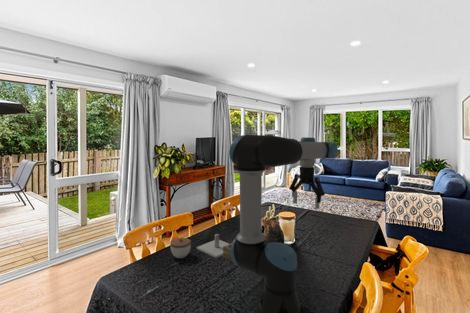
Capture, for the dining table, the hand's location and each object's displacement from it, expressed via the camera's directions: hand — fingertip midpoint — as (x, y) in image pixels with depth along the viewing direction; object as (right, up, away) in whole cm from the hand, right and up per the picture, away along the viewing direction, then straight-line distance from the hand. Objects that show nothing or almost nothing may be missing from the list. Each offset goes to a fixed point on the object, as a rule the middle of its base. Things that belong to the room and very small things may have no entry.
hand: (305, 205), depth 141 cm
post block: (-48, -26, +8) cm, 55 cm away
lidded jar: (-67, -27, -1) cm, 72 cm away
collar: (-39, -27, -2) cm, 47 cm away
